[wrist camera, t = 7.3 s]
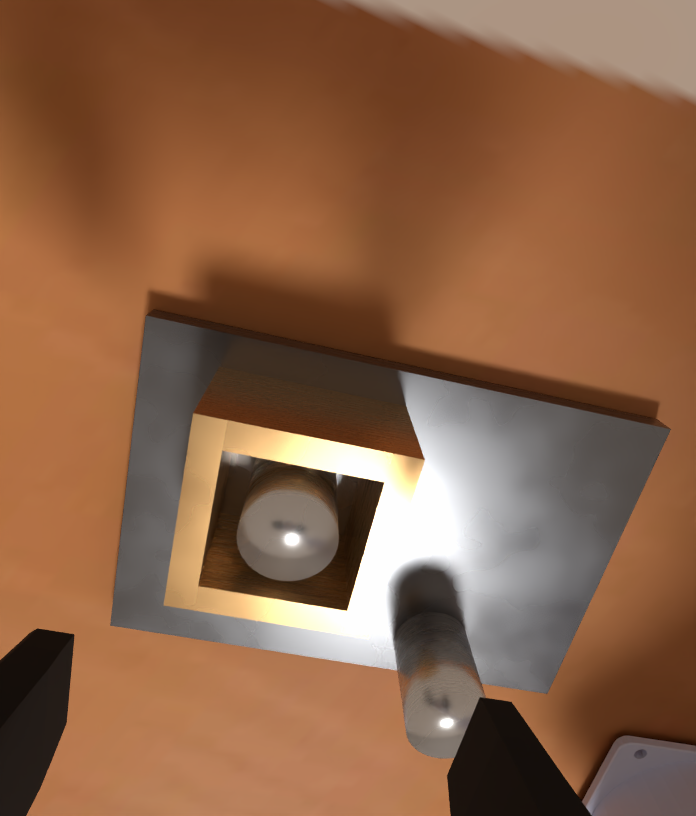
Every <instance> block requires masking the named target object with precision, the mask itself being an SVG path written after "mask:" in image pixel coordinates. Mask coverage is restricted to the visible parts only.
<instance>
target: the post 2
mask: <svg viewBox="0 0 696 816" xmlns="http://www.w3.org/2000/svg"><path fill="white" fill-rule="evenodd" d="M394 651H395V658H396V665H397V672H398V678H399V685H400V692H401V699H402V706H403V713H404V720H405V727H406V734H407V738H408V740H409V742H410V743H411V745H412V746H413V747H414V748H415V749H416V750H418V751H419V752H421V753H423V754H425V755H427V756H431V757H435V758H455V756H456V753H457V751H458V748H459V746H460V743H461V741H462V739H463V736H464V734H465V731H466V729H467V727H468V724H469V722H470V719H471V717H472V715H473V712H474V710H475V707H476V705H477V702H478V700H479V698H480V697H482V698H486V697H485V693H484V690H483V687H482V683H481V680H480V677H479V674H478V670H477V667H476V664H475V661H474V657H473V654H472V651H471V648H470V644H469V641H468V638H467V635H466V632H465V629H464V627H463V626H462V624H461V623H460V622H459V621H458V620H457V619H455V618H454V617H452V616H450V615H447V614H443V613H437V612H429V613H423V614H419V615H416V616H414V617H412V618H410V619H408V620H407V621H406V622H404V623H403V624H402V625H401V626H400V628H399V629H398V631H397V632H396V635H395V638H394Z"/></svg>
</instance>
